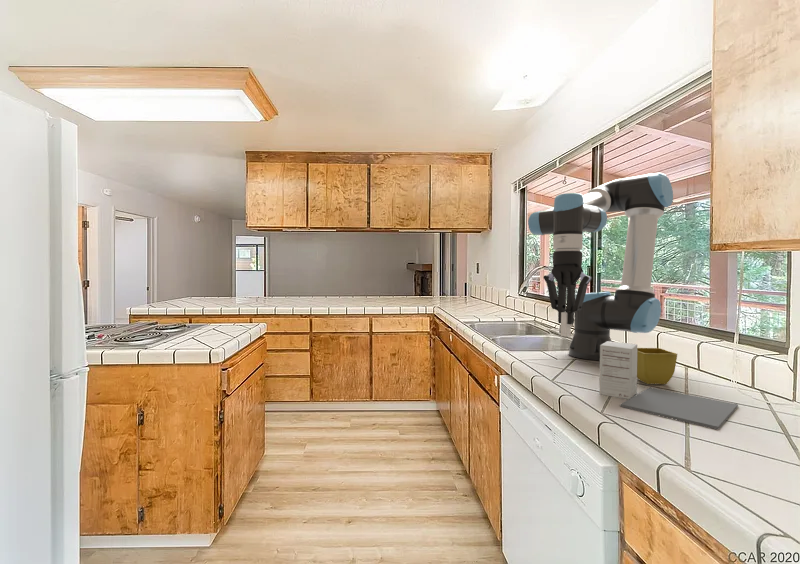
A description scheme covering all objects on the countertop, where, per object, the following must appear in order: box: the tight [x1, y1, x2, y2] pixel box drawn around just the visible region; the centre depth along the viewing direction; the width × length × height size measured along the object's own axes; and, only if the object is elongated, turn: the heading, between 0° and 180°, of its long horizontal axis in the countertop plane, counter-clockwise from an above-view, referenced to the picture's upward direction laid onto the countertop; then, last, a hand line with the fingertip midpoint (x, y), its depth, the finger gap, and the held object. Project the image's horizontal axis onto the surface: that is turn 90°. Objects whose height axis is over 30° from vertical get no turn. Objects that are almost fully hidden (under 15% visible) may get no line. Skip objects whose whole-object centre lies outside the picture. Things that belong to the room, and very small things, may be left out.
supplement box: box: [598, 340, 638, 400], centre depth 104 cm, size 7×7×13 cm
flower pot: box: [637, 347, 678, 386], centre depth 114 cm, size 9×9×9 cm
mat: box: [620, 387, 739, 430], centre depth 94 cm, size 20×18×1 cm
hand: (565, 335), depth 113 cm, fingers closed
